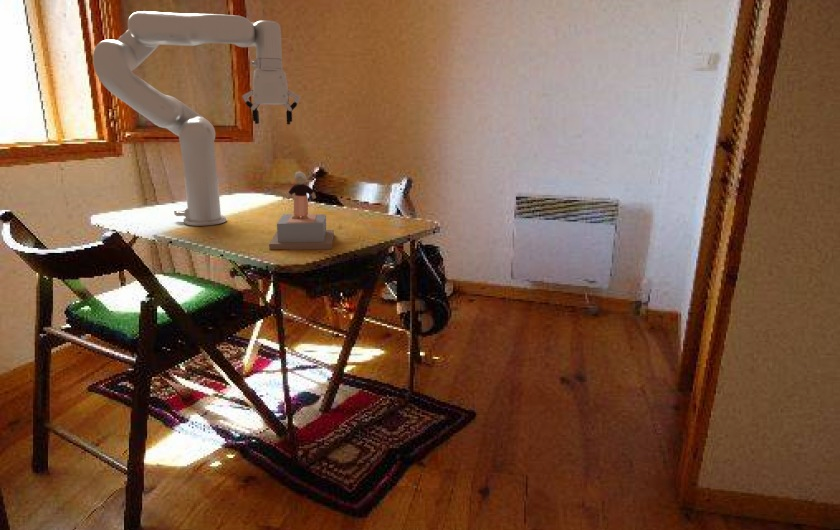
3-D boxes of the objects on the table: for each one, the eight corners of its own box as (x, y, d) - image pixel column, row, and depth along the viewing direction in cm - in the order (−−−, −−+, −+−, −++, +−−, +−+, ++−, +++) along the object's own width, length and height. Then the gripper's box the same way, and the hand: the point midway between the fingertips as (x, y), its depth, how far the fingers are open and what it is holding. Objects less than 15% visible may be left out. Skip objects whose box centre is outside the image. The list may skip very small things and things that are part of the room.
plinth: (269, 249, 141) (267, 224, 139) (278, 235, 156) (276, 212, 154) (331, 249, 143) (330, 224, 141) (333, 234, 158) (333, 212, 156)
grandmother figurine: (288, 220, 145) (286, 172, 141) (287, 217, 148) (285, 170, 145) (317, 218, 147) (315, 172, 144) (315, 216, 151) (314, 170, 147)
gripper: (237, 64, 159) (241, 124, 164) (297, 65, 161) (300, 125, 166) (242, 65, 166) (246, 123, 171) (300, 67, 168) (302, 124, 173)
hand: (273, 124), depth 168 cm, fingers open, 9 cm apart
